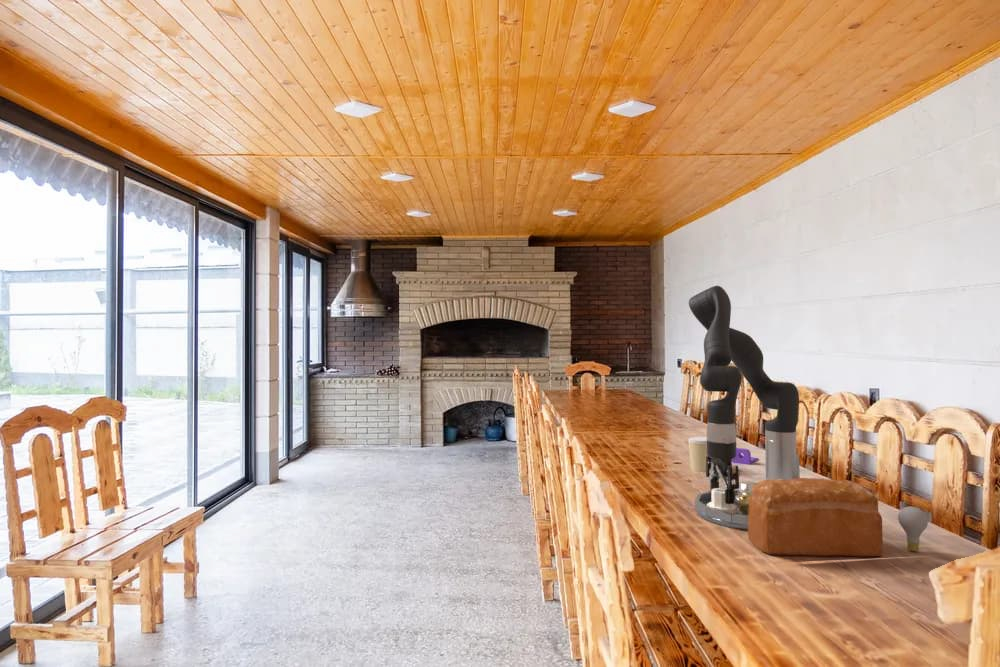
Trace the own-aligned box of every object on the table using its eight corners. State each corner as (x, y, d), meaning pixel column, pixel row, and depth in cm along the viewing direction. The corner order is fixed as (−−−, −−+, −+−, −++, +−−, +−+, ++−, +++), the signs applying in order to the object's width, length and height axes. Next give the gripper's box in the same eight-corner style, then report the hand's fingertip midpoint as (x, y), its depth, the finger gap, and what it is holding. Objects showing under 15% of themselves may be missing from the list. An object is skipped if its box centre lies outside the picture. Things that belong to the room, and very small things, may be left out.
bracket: (749, 468, 214) (748, 450, 214) (730, 466, 219) (730, 448, 219) (758, 463, 223) (758, 445, 223) (740, 460, 228) (740, 443, 228)
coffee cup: (719, 474, 203) (719, 441, 203) (693, 475, 203) (693, 441, 203) (710, 469, 212) (710, 436, 212) (685, 469, 212) (684, 436, 212)
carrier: (768, 500, 171) (768, 476, 171) (828, 530, 144) (827, 502, 144) (680, 503, 168) (680, 479, 168) (724, 534, 141) (724, 505, 141)
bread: (743, 536, 140) (742, 472, 140) (854, 538, 138) (853, 473, 138) (765, 557, 126) (765, 486, 126) (889, 560, 124) (888, 487, 125)
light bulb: (929, 557, 125) (928, 511, 125) (899, 552, 128) (898, 508, 128) (927, 549, 130) (926, 505, 130) (897, 545, 133) (897, 502, 133)
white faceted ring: (703, 507, 159) (703, 487, 159) (728, 506, 159) (728, 486, 159) (715, 515, 151) (715, 494, 151) (741, 514, 152) (741, 493, 152)
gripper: (696, 435, 162) (697, 492, 162) (720, 444, 148) (721, 507, 148) (722, 434, 163) (722, 491, 163) (748, 443, 149) (748, 506, 149)
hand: (722, 499), depth 155 cm, fingers open, 8 cm apart
